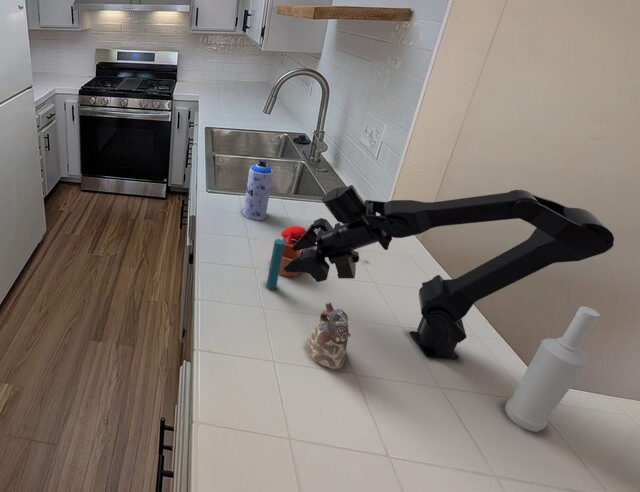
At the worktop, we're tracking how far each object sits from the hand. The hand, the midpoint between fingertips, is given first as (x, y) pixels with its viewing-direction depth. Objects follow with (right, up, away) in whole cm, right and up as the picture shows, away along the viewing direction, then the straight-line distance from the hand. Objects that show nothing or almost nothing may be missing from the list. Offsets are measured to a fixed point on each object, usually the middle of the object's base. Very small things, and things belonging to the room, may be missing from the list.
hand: (289, 259), depth 94 cm
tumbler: (+4, -6, +12) cm, 14 cm away
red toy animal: (+11, -1, +23) cm, 26 cm away
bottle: (+31, -22, -25) cm, 46 cm away
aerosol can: (+4, +6, +39) cm, 40 cm away
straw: (-3, -9, +5) cm, 10 cm away
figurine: (+2, -17, -13) cm, 21 cm away
